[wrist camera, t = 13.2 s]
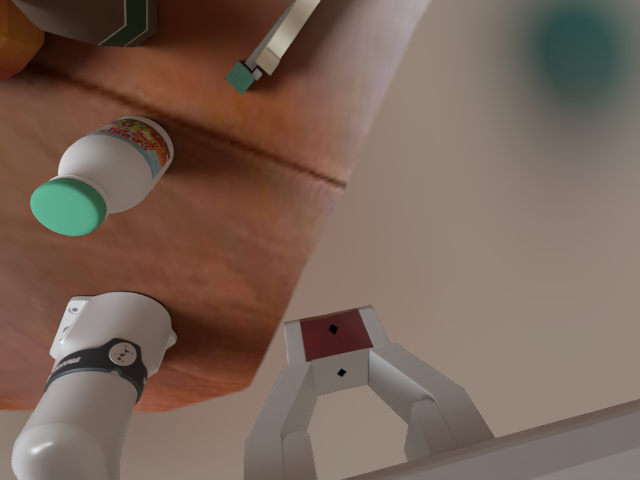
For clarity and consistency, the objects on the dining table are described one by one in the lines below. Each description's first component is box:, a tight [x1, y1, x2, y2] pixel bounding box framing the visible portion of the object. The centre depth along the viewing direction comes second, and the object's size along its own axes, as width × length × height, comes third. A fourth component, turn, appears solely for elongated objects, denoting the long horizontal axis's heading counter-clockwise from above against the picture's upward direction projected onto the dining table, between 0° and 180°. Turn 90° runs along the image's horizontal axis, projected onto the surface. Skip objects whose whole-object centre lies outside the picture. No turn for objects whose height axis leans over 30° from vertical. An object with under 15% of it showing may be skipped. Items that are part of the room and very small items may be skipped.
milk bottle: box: [30, 116, 174, 236], centre depth 31 cm, size 8×8×20 cm
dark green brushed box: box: [225, 60, 262, 95], centre depth 36 cm, size 3×3×4 cm
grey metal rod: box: [245, 0, 296, 71], centre depth 35 cm, size 14×1×1 cm, turn 135°
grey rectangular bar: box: [255, 0, 320, 75], centre depth 33 cm, size 12×2×5 cm, turn 139°
